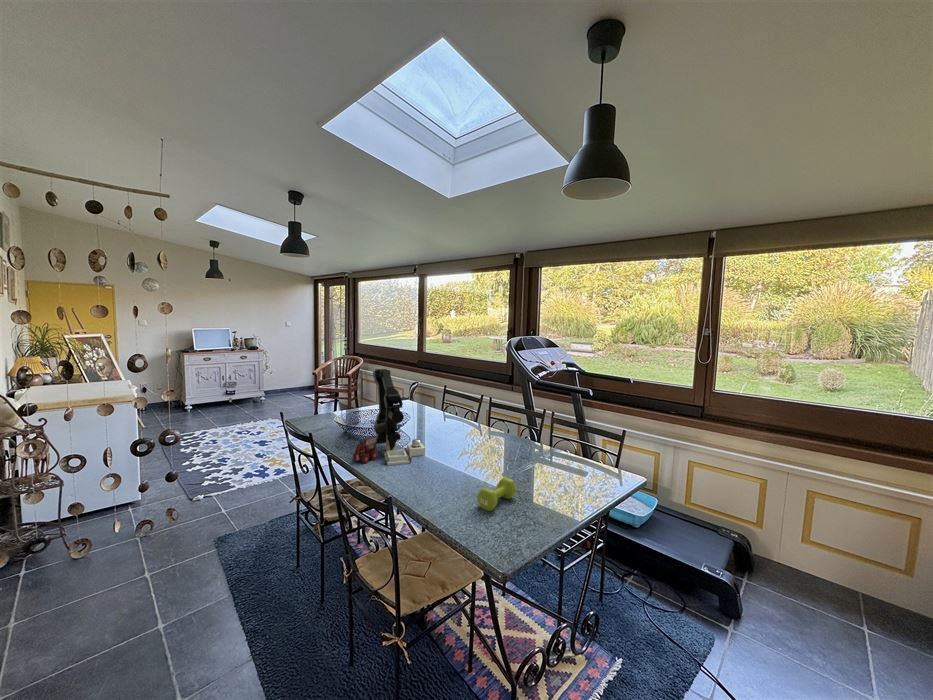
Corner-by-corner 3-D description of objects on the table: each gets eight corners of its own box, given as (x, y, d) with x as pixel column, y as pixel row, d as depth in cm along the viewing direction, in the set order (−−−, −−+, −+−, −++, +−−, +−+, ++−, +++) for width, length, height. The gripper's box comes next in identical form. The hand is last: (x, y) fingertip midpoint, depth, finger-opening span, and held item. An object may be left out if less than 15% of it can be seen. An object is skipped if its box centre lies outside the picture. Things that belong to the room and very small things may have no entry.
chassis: (381, 454, 172) (381, 448, 172) (405, 452, 177) (406, 446, 176) (385, 465, 159) (385, 459, 159) (411, 463, 163) (411, 456, 163)
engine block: (385, 449, 179) (386, 436, 178) (393, 448, 180) (394, 435, 180) (387, 452, 175) (387, 439, 175) (395, 451, 177) (395, 438, 176)
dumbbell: (492, 515, 123) (493, 495, 122) (474, 506, 128) (475, 487, 127) (517, 499, 135) (519, 480, 134) (500, 491, 140) (501, 474, 140)
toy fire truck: (349, 462, 162) (349, 439, 161) (370, 454, 172) (370, 433, 171) (359, 466, 158) (360, 443, 157) (380, 457, 168) (381, 436, 167)
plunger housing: (406, 451, 178) (407, 444, 178) (421, 449, 181) (421, 443, 181) (409, 456, 172) (410, 449, 171) (424, 455, 174) (425, 448, 174)
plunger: (411, 446, 177) (411, 439, 177) (418, 445, 178) (419, 438, 178) (412, 448, 174) (413, 441, 173) (420, 448, 175) (420, 441, 175)
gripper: (373, 413, 182) (372, 443, 184) (377, 423, 165) (376, 456, 166) (394, 412, 186) (393, 441, 188) (401, 422, 169) (400, 454, 170)
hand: (390, 448), depth 178 cm, fingers closed on engine block, 4 cm apart
